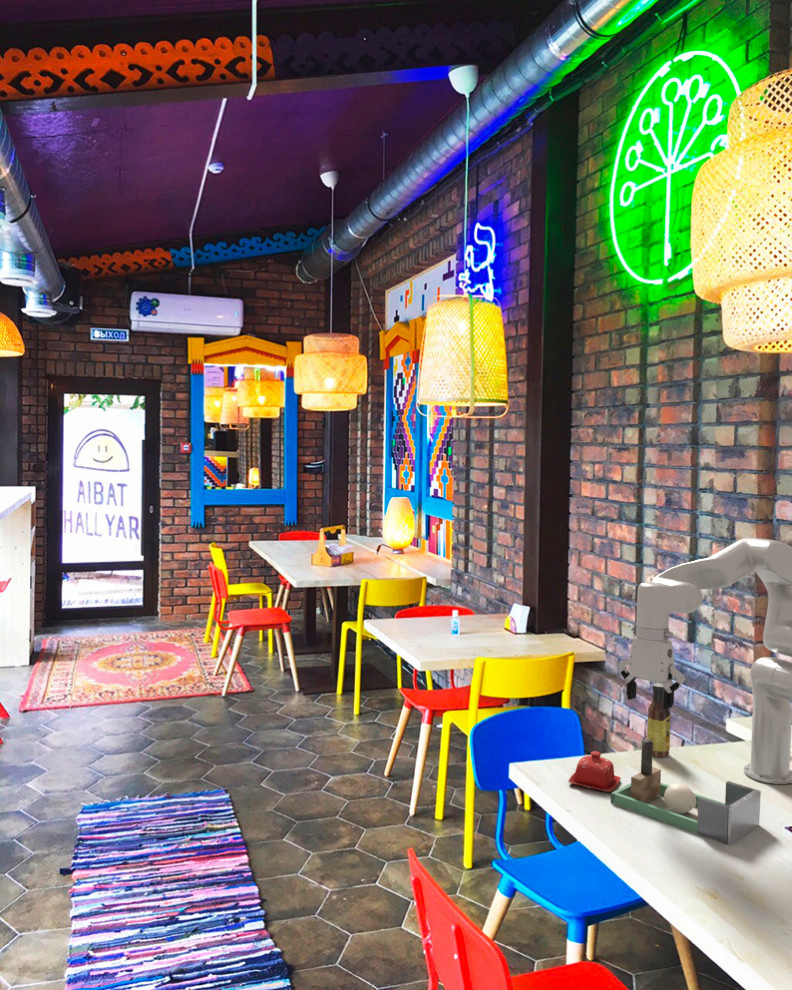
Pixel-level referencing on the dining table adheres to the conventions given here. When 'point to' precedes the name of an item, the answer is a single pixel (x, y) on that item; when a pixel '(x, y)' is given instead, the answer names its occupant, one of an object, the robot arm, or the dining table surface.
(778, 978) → the dining table surface
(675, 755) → the dining table surface
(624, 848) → the dining table surface
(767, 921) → the dining table surface
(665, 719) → the sauce bottle
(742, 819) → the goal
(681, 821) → the frame
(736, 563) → the robot arm
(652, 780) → the striker
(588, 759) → the butter dish
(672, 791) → the cream round ball
